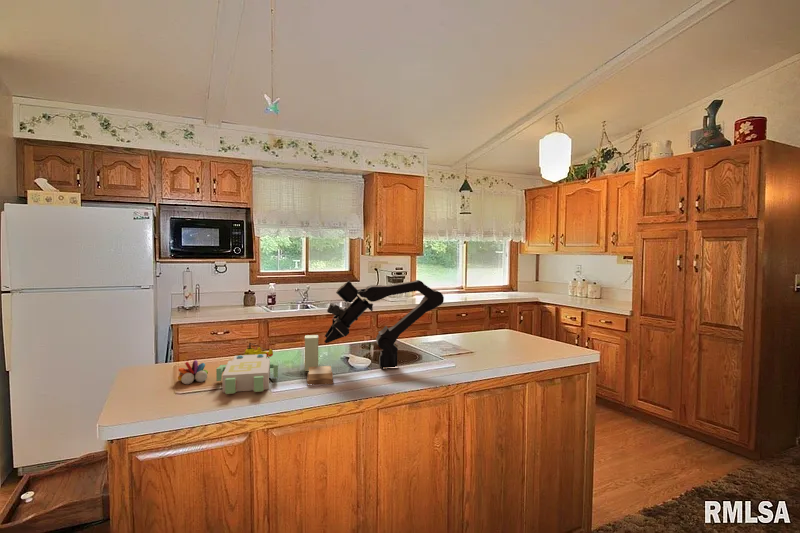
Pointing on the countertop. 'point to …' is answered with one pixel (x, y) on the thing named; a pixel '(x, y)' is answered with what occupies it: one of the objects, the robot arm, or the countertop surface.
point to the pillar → (311, 351)
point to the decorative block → (246, 373)
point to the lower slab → (319, 381)
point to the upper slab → (320, 373)
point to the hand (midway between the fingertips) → (325, 339)
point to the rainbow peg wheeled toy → (192, 373)
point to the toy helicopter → (257, 351)
